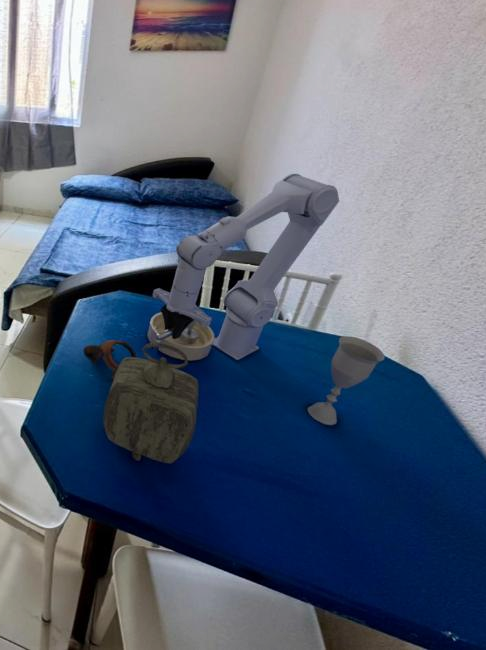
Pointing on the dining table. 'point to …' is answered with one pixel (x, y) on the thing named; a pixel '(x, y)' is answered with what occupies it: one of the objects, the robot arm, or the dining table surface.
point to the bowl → (190, 350)
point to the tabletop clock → (152, 407)
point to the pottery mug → (106, 353)
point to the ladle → (186, 337)
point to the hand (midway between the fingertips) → (172, 335)
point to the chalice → (347, 373)
